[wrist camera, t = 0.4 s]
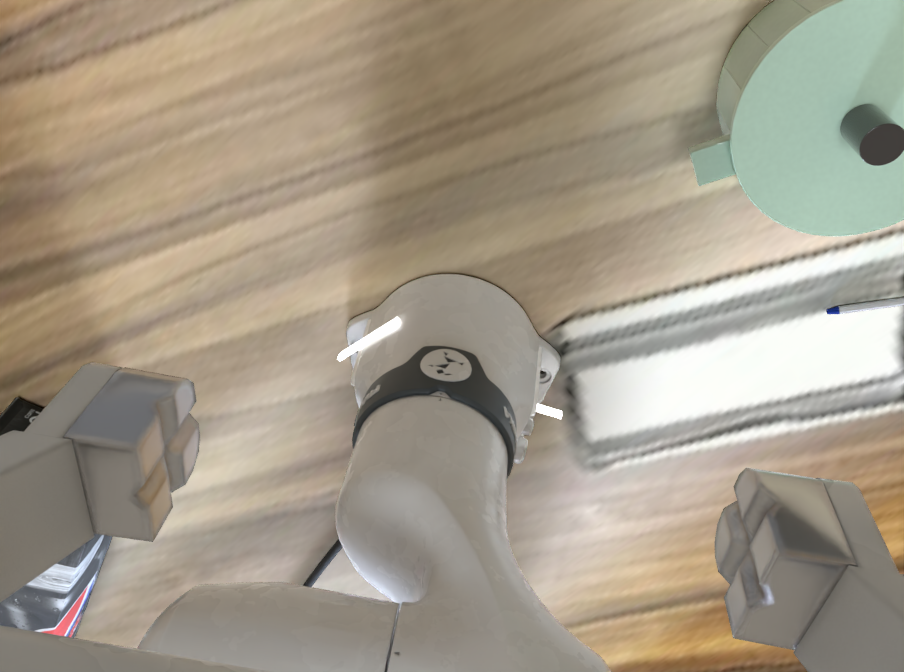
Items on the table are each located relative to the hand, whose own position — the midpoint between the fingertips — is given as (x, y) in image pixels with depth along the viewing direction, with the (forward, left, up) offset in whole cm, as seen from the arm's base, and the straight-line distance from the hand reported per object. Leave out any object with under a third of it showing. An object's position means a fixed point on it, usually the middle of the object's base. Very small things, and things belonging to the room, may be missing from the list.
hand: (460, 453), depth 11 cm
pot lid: (-4, -20, -38) cm, 44 cm away
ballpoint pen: (-19, -32, -46) cm, 60 cm away
